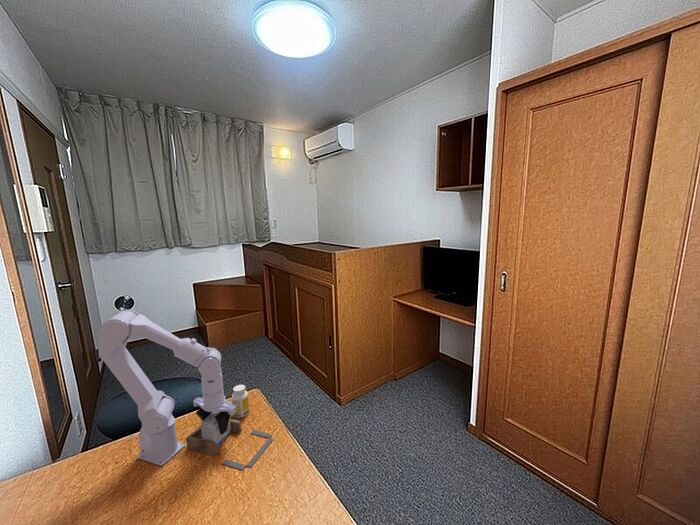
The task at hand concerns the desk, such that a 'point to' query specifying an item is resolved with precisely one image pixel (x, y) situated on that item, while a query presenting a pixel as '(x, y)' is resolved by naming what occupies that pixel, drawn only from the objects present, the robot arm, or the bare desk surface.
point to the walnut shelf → (208, 447)
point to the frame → (257, 455)
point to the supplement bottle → (240, 401)
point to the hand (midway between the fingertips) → (216, 430)
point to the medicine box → (213, 430)
